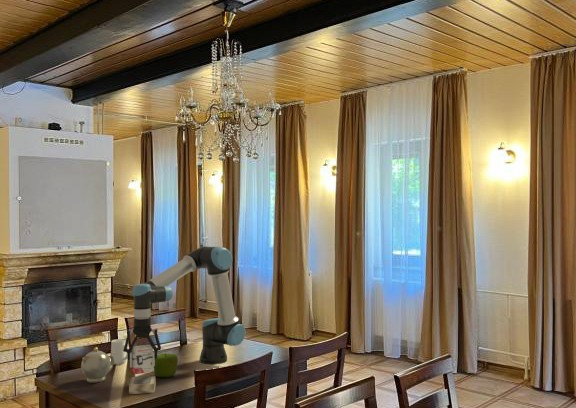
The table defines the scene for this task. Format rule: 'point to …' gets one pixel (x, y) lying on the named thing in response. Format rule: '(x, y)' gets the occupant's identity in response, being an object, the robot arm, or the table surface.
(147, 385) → the plinth
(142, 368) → the ink box
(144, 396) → the table surface
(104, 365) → the teapot
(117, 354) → the mug
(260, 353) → the table surface
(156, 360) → the apple
